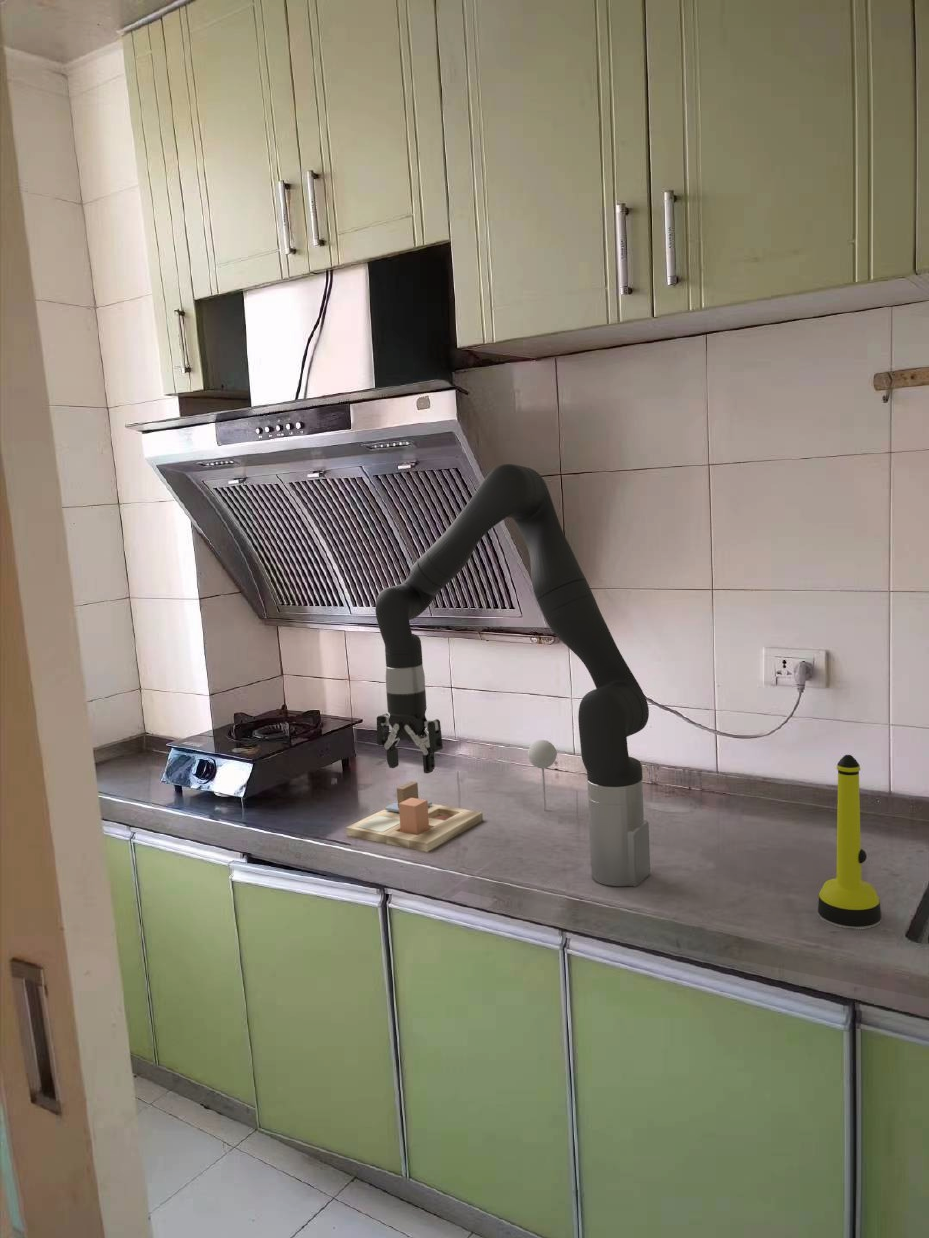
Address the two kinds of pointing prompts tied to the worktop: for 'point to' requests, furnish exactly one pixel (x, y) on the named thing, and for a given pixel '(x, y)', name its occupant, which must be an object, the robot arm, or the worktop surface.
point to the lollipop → (542, 758)
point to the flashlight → (849, 861)
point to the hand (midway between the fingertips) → (410, 769)
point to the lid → (405, 795)
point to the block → (414, 816)
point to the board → (441, 829)
